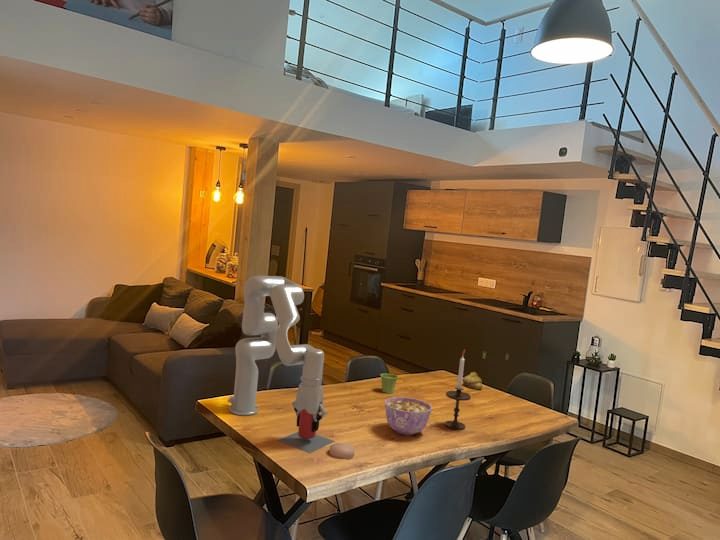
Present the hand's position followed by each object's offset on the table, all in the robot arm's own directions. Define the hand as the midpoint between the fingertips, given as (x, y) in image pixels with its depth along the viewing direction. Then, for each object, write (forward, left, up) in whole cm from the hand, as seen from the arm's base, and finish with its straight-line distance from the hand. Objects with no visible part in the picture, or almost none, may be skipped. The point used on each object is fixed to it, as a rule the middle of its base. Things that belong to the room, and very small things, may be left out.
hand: (307, 427), depth 202 cm
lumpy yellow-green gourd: (+17, +136, -6) cm, 137 cm away
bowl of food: (+22, +40, -6) cm, 46 cm away
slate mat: (0, 0, -5) cm, 5 cm away
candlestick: (+35, +63, -6) cm, 72 cm away
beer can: (0, 0, -3) cm, 3 cm away
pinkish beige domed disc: (+16, 0, -6) cm, 17 cm away
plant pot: (-12, +86, -6) cm, 87 cm away
